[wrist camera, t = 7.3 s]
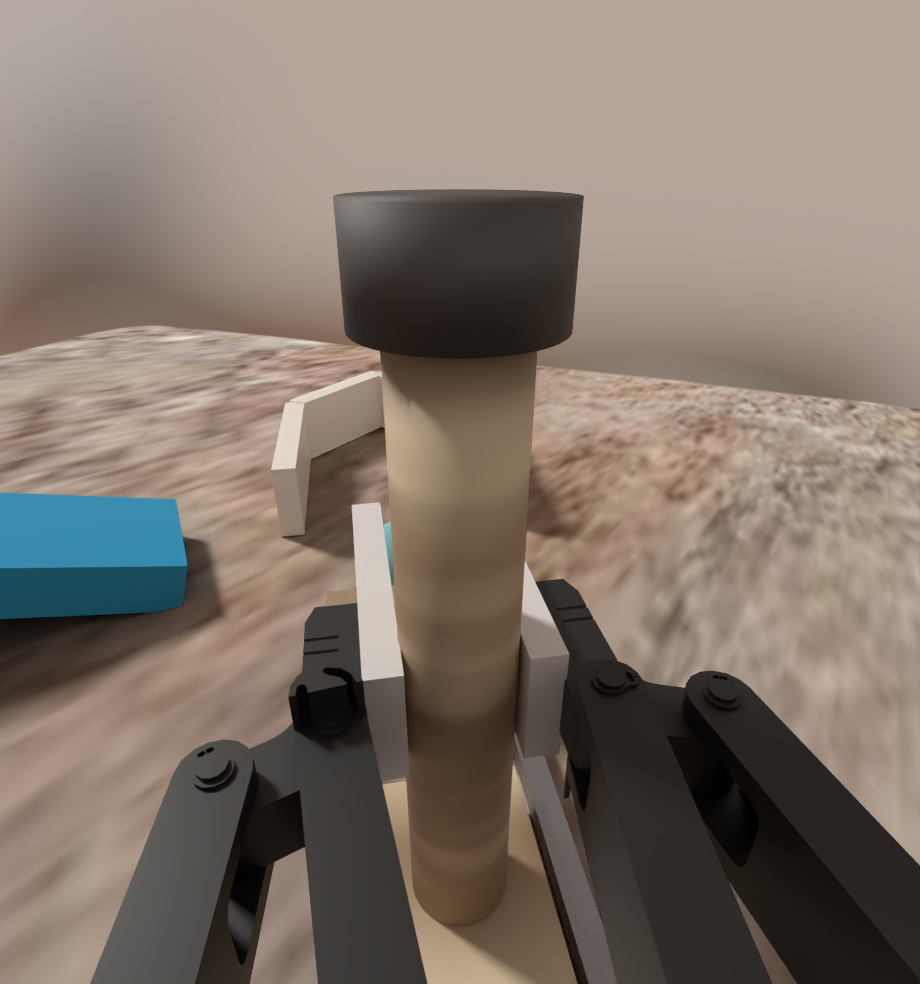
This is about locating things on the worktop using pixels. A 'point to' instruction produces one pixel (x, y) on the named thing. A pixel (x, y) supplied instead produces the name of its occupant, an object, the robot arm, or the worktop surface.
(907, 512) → the worktop surface
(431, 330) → the plunger
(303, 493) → the pocket
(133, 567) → the blue long block
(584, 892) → the track
